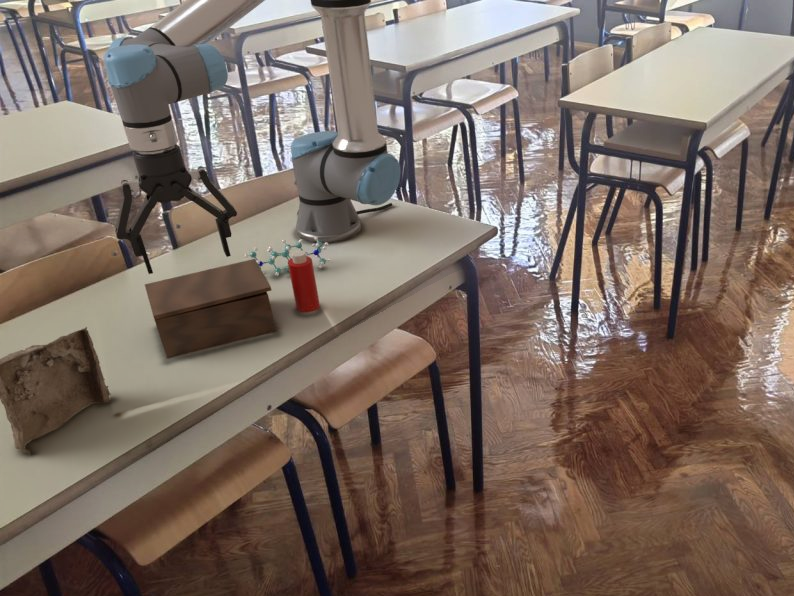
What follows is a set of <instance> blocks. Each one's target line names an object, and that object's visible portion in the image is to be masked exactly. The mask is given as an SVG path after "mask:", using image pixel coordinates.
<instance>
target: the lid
mask: <svg viewBox="0 0 794 596" xmlns="http://www.w3.org/2000/svg"><path fill="white" fill-rule="evenodd" d="M262 271H263V270H262V268H261V269H260V267H259V265H258V263H257V260H256V259H255V258H251V259H247V260H244V261H239V262H235V263H230V264H227V265H222V266H217V267H215V268H214V267H213V268H209V269H205V270H200V271H196V272H192V273H188V274H183V275H179V276H175V277H171V278H167V279H161V280H158V281H153V282H149V283H145V284H144V287H145V291H146V292H145V293H146V295H147V299H148V302H149V306H150V309H151V313H152V317H153V320H154V319H155V320H156V319H160V318H164V317H168V316H172V315H176V314H180V313H184V312H188V311H192V310H196V309H200V308H204V307H208V306H212V305H216V304H220V303H224V302H228V301H232V300H236V299H240V298H244V297H248V296H252V295H256V294H260V293H264V292H267V293H268V292H271V291H272V286H271V284H270V283H269V280H268V279H267V278H266V276H265V273H264V274H263V272H264V271H263V272H262ZM155 320H154V321H155Z"/></svg>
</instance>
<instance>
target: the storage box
mask: <svg viewBox="0 0 794 596" xmlns="http://www.w3.org/2000/svg"><path fill="white" fill-rule="evenodd" d="M153 320H154V323H155V326H156V329H157V332H158V335H159V338H160V341H161V344H162V348H163V351H164V353H165V357H166V359H170V358H175V357H178V356H182V355H186V354H190V353H194V352H199V351H203V350H206V349H210V348H214V347H219V346H222V345H227V344H231V343H236V342H239V341H243V340H247V339H251V338H256V337H260V336H263V335H268V334H273V333H275V332H277V329H276V324H275V320H274V316H273V311H272V307H271V301H270V297H269V294H268V292H264V293H260V294H256V295H252V296H248V297H244V298H240V299H236V300H232V301H228V302H224V303H220V304H216V305H212V306H208V307H204V308H200V309H196V310H192V311H188V312H184V313H180V314H176V315H172V316H168V317H164V318H160V319H156V320H155V319H154V318H153Z"/></svg>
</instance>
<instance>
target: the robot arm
mask: <svg viewBox="0 0 794 596" xmlns="http://www.w3.org/2000/svg"><path fill="white" fill-rule="evenodd" d="M265 1H266V0H185V1H183V2H182V3H181V4H179V5H177V7H176V8H174V9H173V10H172V11H170V12H168V13H167V14H166V15H164V16H163V17H162V18H160V19H159V20H158V21H157V22H155V23H154V24H152V25H150V26H149V27H147V29H145V30H143V31H142V32H141V33H139V34H138V35H137V36H135V37H133V36H123V37H117V38H116V39H114V40H113V41H112V42H111V43H110V45H109V47H108V49H107V50H106V51H105V52H104V53H103V57H102V58H103V62H104V68H105V73H106V76H107V82H108V85H109V86H110V89H111V91H112V96H113V98H114V101H115V104H116V107H117V110H118V113H119V116H120V119H121V122H122V127H123V129H124V130H123V131H124V133H125V136H126V140H127V142H128V145H129V148H130V149H131V150H133V151H132V152H131V153H132V158H133V161H134V165H135V168H136V171H137V173H138V180H135V181H128V180H127V179H122V180H121V181H120V186H121V190H122V196H121V201H120V206H119V211H118V214H117V215H118V216H117V220H116V225H115V230H114V232H115V236H116V239H117V240H120V241H122V240H128V241H129V243H130V245H131V248H132V251H133V254H134V256H135V257H136V258H138V257H142V258H143V261H144V264H145V267H146V270H147V273H148V275H151V274H154V272H153V268H152V265H151V263H150V259H149V256H148V253H147V249H146V246H145V243H144V241H143V238H142V234H141V231H142V230H143V228H144V226H145V225H146V222H147V220H148V218H149V216H150V215H151V213H152V212H153V210H154V209H155V207H156V206H157V204H158V203H160V204H161V203H162V205H165V204H168V203H170V202H180V201H182V200H183V198H186V199H188V200H189V201H191V202H193V203H194V204H196V205H197V206H198V207H200V208H202V209H203V210H205V211H206V212H207V213H209V214H210V215H212V216H213V217H215V223H216V227H217V231H218V233H219V234H218V235H219V238H220V242H221V247H222V250H223V253H224V254H225V257H226V258H228V257H231V256H232V255H231V252H230V248H229V244H228V239H229V238H231V237H232V230H231V225H230V219H231V218H235V217H237V216H238V212H237V210H236V208H235V207H234V206H233V204H232V203H231V202H230V201H229V199H227V198H226V197H225V195H224V194H223V193H222V192H221V191H220V189H218V187H217V186H216V185H215V184H214V182H213V181H212V180H211V179H210V177H209V175H208V172H207V171H206V169H205V167H204V166H202V165H200V166H198V167H197V169H195V170H192V171H191V170H190V171H189V170H188V169H187V167H186V164H185V160H184V156H183V152H182V149H181V147H180V145H178V142H179V139H178V135H177V132H176V131H177V130H176V127H175V125H174V120H173V117H172V113H171V109H170V105H172V104H176V103H179V102H182V101H185V100H190V99H193V98H196V97H201V96H204V95H209V94H212V93H213V92H216V91H218V90H221V89H223V88H224V87H225V86H226V84H227V82H228V76H229V73H228V72H229V71H228V69H227V63H226V61H225V59H224V57H223V55H222V54H221V52H220V51H219V50H218V49H217V48H216V47H215V46H214V45H212V44H211V42H213V41H214V40H215V39H216V38H219V36H220V35H222V34H223V33H224V32H226V31H227V30H228V29H230V28H231V27H232V26H234V25H235V24H236V23H238V21H240V20H241V19H243V18H244V17H245V16H246V15H248V14H250V12H252V11H254V9H256V8H257V7H259V6H260V5H261V4H262V3H264V2H265ZM310 4H311V7H312V8H313V9H314V10H315V11H316V12H318V13H319V15H320V19H321V26H322V33H323V34H322V35H323V39H324V47H325V54H326V61H327V67H328V73H329V74H328V75H329V82H330V87H331V94H332V101H333V102H332V103H333V109H334V115H335V116H334V117H335V123H336V129H337V131H336V130H335V131H334V130H322V131H315V132H310V133H305V134H303V135H300V136H298V137H296V138H294V139H293V140H292V141H291V144H290V153H291V157H290V159H291V162H292V168H293V173H294V178H295V184H296V189H297V194H298V200H299V205H298V210H297V214H296V225H295V227H296V234H297V236H298V237H299V238H300V239H302V240H303V241H306V242H310V243H314V244H316V243H317V240H315V239H314V238H315V237H318V242H319V241H320V242H322V244H325V243H326V242H327V243H328V244H331V243H338V242H342V241H345V240H348V239H350V238H353V237H354V236H356V235H357V234H359V233H360V232H361V229H362V225H361V224H362V223H361V219H360V216H359V215H363V214H367V213H375V212H379V211H382V210H386V209H388V208H391V207H393V203H392V202H390V203H387V202H388V201H389V200H391V198H392V197H393V196H394V195H395V192H396V190H397V189H398V186H399V184H400V180H401V165H400V162H399V160H398V159H397V158H396V157H395V156H394V155H393V154H391V153H389V152H388V146H387V145H388V143H387V139H386V137H384V135H382V134H381V133H380V132H379V127H378V119H377V109H376V101H375V91H374V84H373V75H372V74H373V73H372V66H371V65H372V64H371V58H370V48H369V40H368V31H367V30H368V29H367V21H366V11H367V10H368V8H369V7H370V5H371V4H372V0H310ZM192 180H195V181H196V182H197V183H199V184H203V186H204V187H205V188H206V190H207V191H208V192H210V194H211V195H212V196H213V197H214V198H215V199H216V201H217V202H218V203H219V204H220V205H221V206H222V207H223V208H224V210H222V209H221V208H220V207H218V206H217V205H215V204H214V203H212V202H211V201H209V200H207V199H206V198H205V197H204V196H202V195H201V194H199V193H198V192H196V191H195V190H194V189H193V188H191V187H190V185H191V183H192ZM138 190H141V191H142V192H144V193H145V196H144V198H143V202H142V203H141V206H140V207H139V209H138V210H137V213H136V214H135V217H134V218H133V220H132V222H131V224H130V226H129V227H127V226H128V222H129V217H130V213H131V207H132V203H133V196H135V195H136V194H137V192H138ZM352 201H354V202H358V203H360V204H362V205H370V206H379V207H373V208H366V209H361V210H356V209H355V206H354V204H353V202H352ZM385 203H386V204H385ZM383 204H385V205H383ZM381 205H382V206H381Z"/></svg>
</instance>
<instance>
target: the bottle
mask: <svg viewBox="0 0 794 596" xmlns="http://www.w3.org/2000/svg"><path fill="white" fill-rule="evenodd" d="M305 252H306V251H304V250H303V251H302V250H295V251H293V252H292V253H291V257H290V258H291V259H290V258H289V261H288V260H287V266H288V267H289V271H288V272H289V277H290V280H291V288H292V293H293V298H294V302H295V303H294V304H295V308H296V310H297V311H298V312H300V313H311V312H312V313H313V312H315V311H317V310H318V309H319V308H321V303H320V298H319V293H318V292H319V291H318V286H317V281H316V275H315V270H314V269H315V268H314V264H313V259H312V257H311V256H309V255H308V256H306V254H305Z"/></svg>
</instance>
